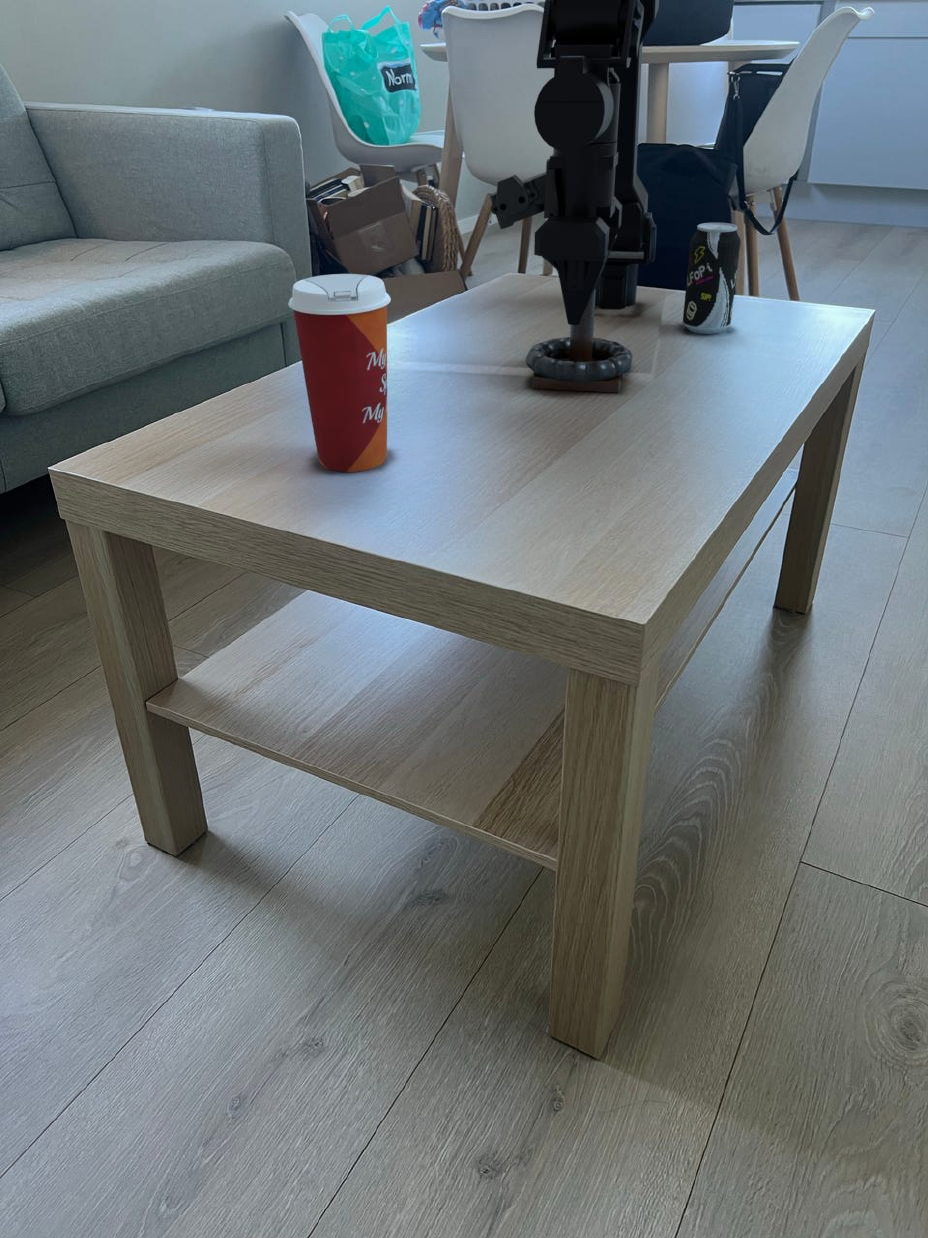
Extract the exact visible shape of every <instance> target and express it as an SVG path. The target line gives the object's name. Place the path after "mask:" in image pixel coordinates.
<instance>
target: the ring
mask: <svg viewBox="0 0 928 1238" xmlns="http://www.w3.org/2000/svg"><path fill="white" fill-rule="evenodd" d="M569 353H570V336H567V337H555V338H550V339H547V340H544V341H541V342H538V343H535V344H533V345H532V346H531V347H530V349H529V351H528V352H527V354H526V357H525V364H526V366H527V367H528V369H529V370H531V371H532V372H534V373H536V374H537V375H539V376H542V377H546V378H550V379H554V380H557V381H566V382H594V381H603V380H610V379H612V378H615V377H617V376H620V375H622V374H623V375H624V374H626V373H628V372H629V370H630V369H631V366H632V362H633V353H632V351H631V350H630V349H629V348H628V347H626V346H624V345H623V344H621V343H619V342H618V341H614V340H609V339H605V338H600V337H593V349H592V357H597V358H602V359H606V360H600V361H591V362H572V361H561V360H557V359H553V358H557V357H565V356H569Z"/></svg>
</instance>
